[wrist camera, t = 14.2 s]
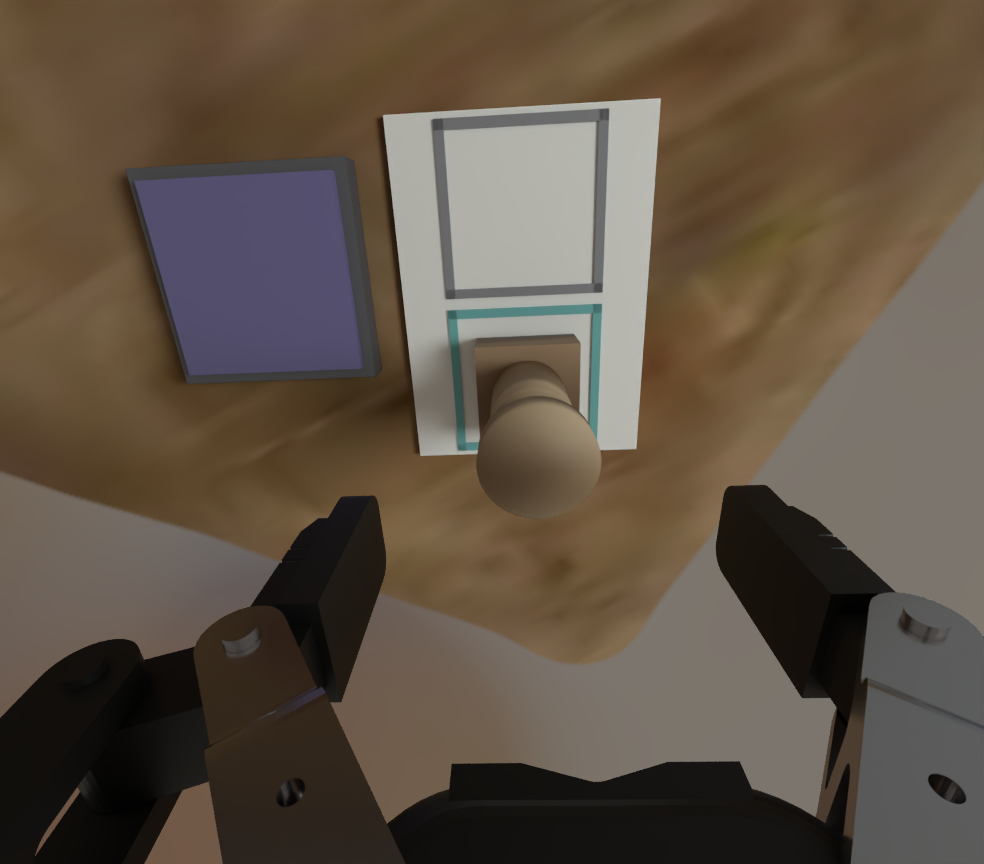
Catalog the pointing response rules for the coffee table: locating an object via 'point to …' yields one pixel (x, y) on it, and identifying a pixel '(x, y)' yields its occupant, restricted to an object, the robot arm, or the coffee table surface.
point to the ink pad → (261, 268)
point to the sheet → (524, 251)
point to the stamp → (533, 425)
